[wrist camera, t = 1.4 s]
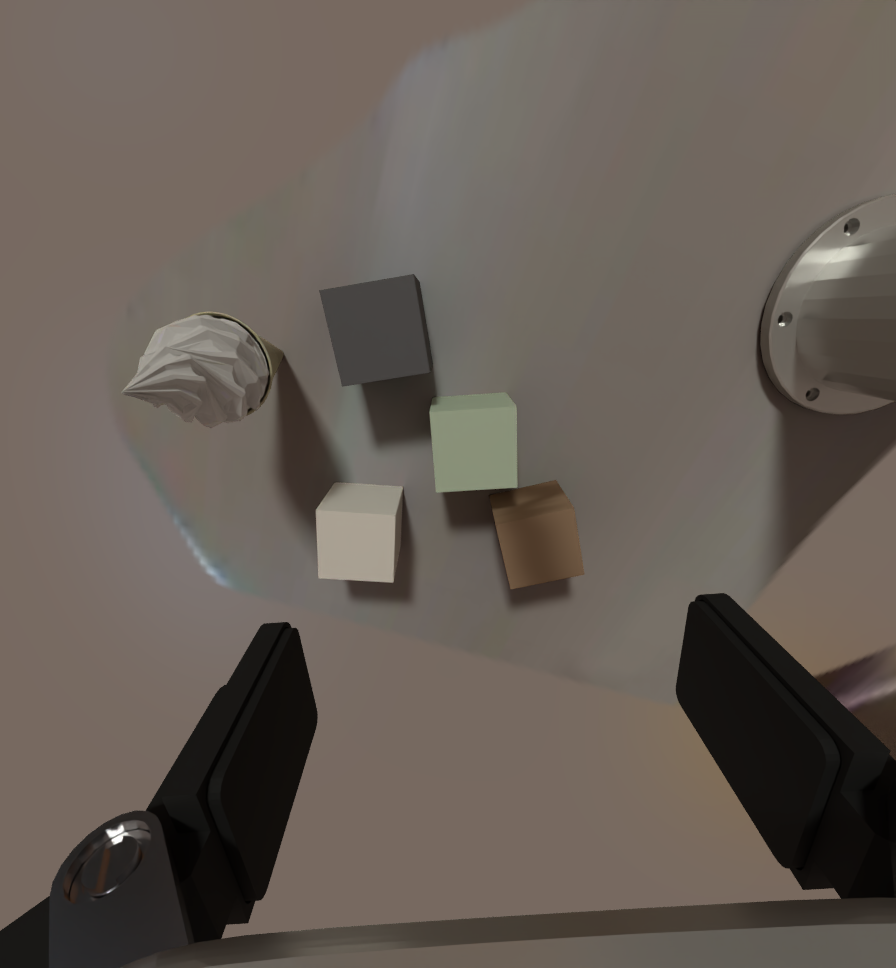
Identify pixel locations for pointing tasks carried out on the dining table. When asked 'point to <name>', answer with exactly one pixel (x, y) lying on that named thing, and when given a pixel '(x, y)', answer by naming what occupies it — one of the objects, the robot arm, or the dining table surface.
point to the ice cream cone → (206, 369)
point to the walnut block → (537, 534)
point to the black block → (378, 330)
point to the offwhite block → (359, 532)
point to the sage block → (474, 442)
